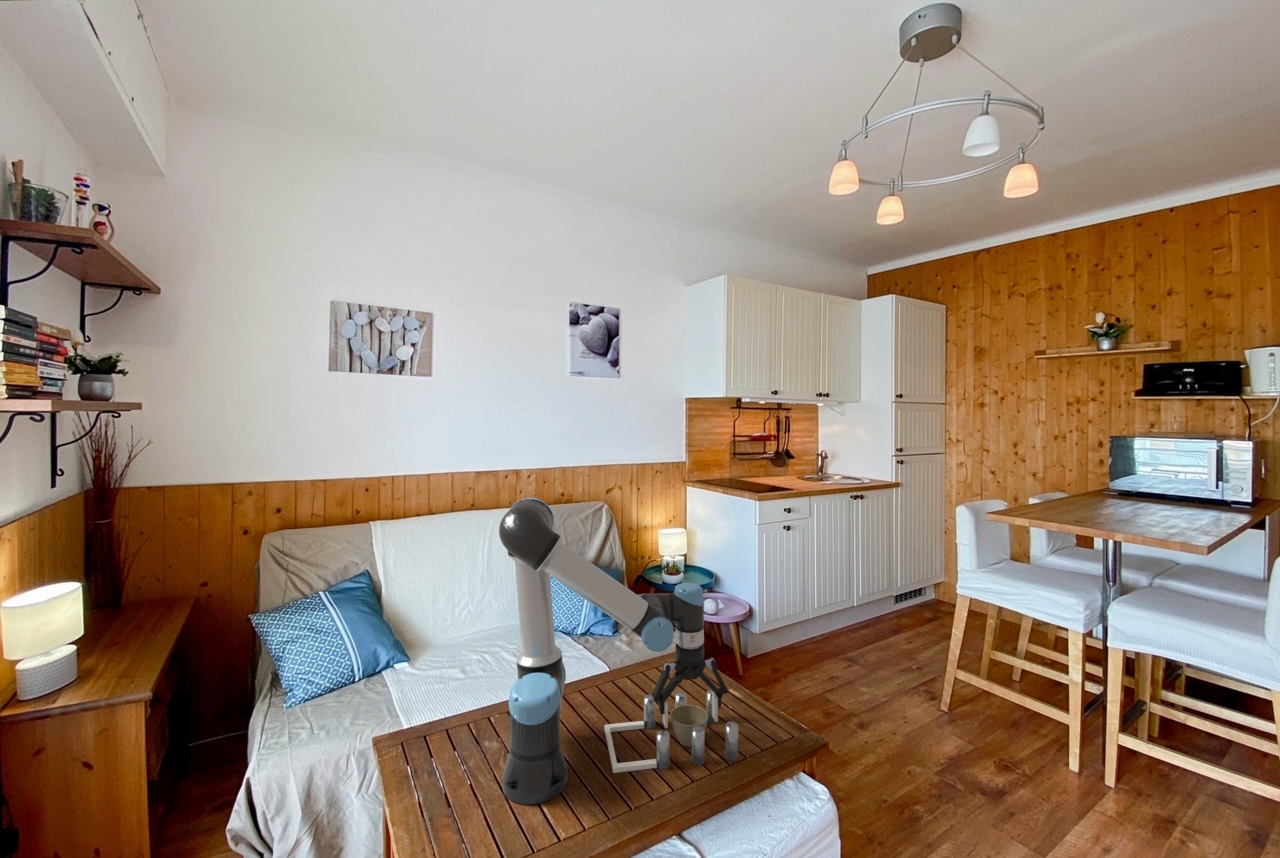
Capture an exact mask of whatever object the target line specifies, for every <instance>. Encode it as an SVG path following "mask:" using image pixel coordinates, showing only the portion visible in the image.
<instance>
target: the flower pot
mask: <svg viewBox="0 0 1280 858" xmlns="http://www.w3.org/2000/svg"><path fill="white" fill-rule="evenodd" d="M669 717H670V723H671V727H672V729H673V732H674V734H675V736H676V738H677V740H678V741H679V743H680V744H681V745H682V746H685V747H688V748H689V747H691V748H692V728H693V727H696V726H699V727H702V728H704V730H705V731H706V729H707V726H708V714H707V710H705V709H704V708H702V707H700V706H697V705H693V704H687V705H681V706H678V707H674V708H673V709H671V711H670V716H669Z"/></svg>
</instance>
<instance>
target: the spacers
mask: <svg viewBox="0 0 1280 858" xmlns="http://www.w3.org/2000/svg"><path fill="white" fill-rule="evenodd" d="M712 693H714V692H713V691H712V689H709V690H707V691H706V712H707V714H708V722H707V724H708V723H709V724H712V725H713V724H716V723H718V722H715V721H714V719H713V717H712ZM687 695H688V694H687V693H686V692H684V691H677V692H676V693H675V694H674V696H675V697H674V698H675V699H674V705H675V707H678V706H681V705H688V704H687V703H688V702H687V701H688V698H687V697H688V696H687ZM675 707H674V708H675ZM643 722H644V729H646V730H652V729H655V728H656V702H655V701H654V700H653V697H652V694H645V695H644V696H643ZM705 733H706V729H705V730H704V728H702V727H699V726H696V727H693V728H692V747H691V763H692V764H693V765H695V766H703V765H704V764H705V755H706V754H705V747H706V746H705V745H706V744H705V742H706V741H705V736H706V734H705ZM724 733H725V736H724V737H725V740H724V742H725V749H724V750H725V751H724V753H725V754H724V756H725V758H726V759H727V760H729V761H735V760H737V759H738V758H739V724H738V723H737V722H735V721H728V722H726V723H725V732H724ZM670 743H671V742H670V732H669V731H668V730H665V729H661V730H658V731H657V732H656V758H655V759H656V762H657V768H656V769H659V770H661V771H664V770H667V769H669V768H670V751H671V750H670Z"/></svg>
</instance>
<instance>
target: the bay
mask: <svg viewBox="0 0 1280 858" xmlns="http://www.w3.org/2000/svg"><path fill="white" fill-rule="evenodd" d="M642 729H645V727H644V720H641V721H629V722H628V721H627V722H619V723H610V724H608V723H607V724H604V733H605V738H606V739H605V740H606V743H607V744H606V745H607V748H608V753H609V759H610V764H611V769H612V773H613V774H616V773H623V772H624V773H625V772H633V771H640V770H641V771H643V770H649V769H658V768H657V762H656V759H657V758H652V759H644V760H643V759H642V760H633V761H627V762H618V760H617V757H616V752H615V747H614V744H613V737H612V733H613V732H614V733H615V732H623V731H633V730H642Z"/></svg>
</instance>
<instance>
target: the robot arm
mask: <svg viewBox="0 0 1280 858" xmlns="http://www.w3.org/2000/svg"><path fill="white" fill-rule="evenodd" d="M554 518H555V517H554V514H553V511H552V509H551V507H550V506H549V504H547V503H546V502H545V501H543V500H541V499H539V498H536V497H535V498H534V497H528V498H522V499H521V500H518V501H516V502H515V503H513V504H512V505H511V507H510V508H509V510H508V511H507V512H506V513H505V514H504V516H503V517H502V518H501V520H500V523H499V526H498V527H499V529H498V534H499V538H500V539H499V540H500V541H501V543H502V545H503V547H504V548H505V549H506V550H507V555H508V556H507V557H509V558H511V559H512V560H513V561H514V567H515V580H516V581H515V582H516V593H517V606H518V621H519V631H520V643H521V651H520V652H519V654H518V655H517V657H516V670H517V671H516V672H517V680H516V681H515V682H514V684H513V685H512V686H511V688H510V692H509V697H508V710H509V754H508V756H507V759H506V762H505V763H506V764H505V766H504V769H503V772H502V775H501V776H502V777H501V778H502V780H501V781H502V782H501V783H502V785H501V787H502V789H501V790H502V792H503V794H504V796H505V798H506V799H507V798H508V799H509V800H510V801H512V802H514V803H517V804H519V805H538V804H542V803H545V802H548V801H550V800H552V799H554V798H556V797H557V796H558V795H560V794H561V793H562V791H564V789H565V788H566V787H567V784H568V766H567V763H566V760H565V757H564V754H563V750H562V748H561V709H562V701H563V697H564V696H563V693H564V687H565V684H566V679H567V677H566V674H567V673H566V672H567V671H566V668H565V664H564V662H563V653H562V649H561V648H560V647H558V646H557V645H556V636H555V625H554V623H555V622H554V613H553V611H554V610H553V599H552V596H553V595H552V588H551V587H552V586H551V577H552V578H554V579H555V580H557V581H558V582H559V583H561V584H562V585H564V586H565V587H567V588H569V590H570V591H573V592H574V593H576V594H577V595H579V596H580V597H582V598H583V599H584V600H586V601H587V602H589V603H590V604H592V606H594V607H596V608H598V609H599V610H600V611H602V612H603V613H605V614H606V615H608V616H609V617H610V618H612V619H613V620H615V621H616V622H618V623H619V624H621V625H622V626H623V627H625V628H626V629H628V630H629V631H631V632H632V633H634V634H635V635H636V636H638V637H640V638H641V642H642V644H644V646H645V647H646V648H647V649H648V650H649V651H652V652H655V653H659V652H660V653H661V652H663V651H666V650H667V649H669V648H670V647H671V646H672V643H673V642H674V637H675V661H674V663H673V662H672V663H669V662H668V661H664V662H663V669H662V671H661V674H660V675H659V678H658V680H657V682H656V685H655V687H654V689H653V692H652V693H651V695H652V697H653V700H654V701H655V703H656V702H658V711H659V713H660V715H662V723H663V726H664V729H668V728H669V704H668V703H669V702H668V701H667V700H668V699H669V697H670V696H671V694H672V693H673V692H674V691H675V689H676V688H677V687H678V685H679V684H681V683H682V682H683V680H684V681H689V680H697V679H698V678H700V679H701V680H702V681H703V682H704V683H705V684H706V685H707V686H708V687H709V688H710V690H712V691H713V692H714V693H712V717H713V719H714V721H715V722H717V723H718V722H719V709H721V707H722V699H723V695H724V694H725V695H726V694H727V695H728V693H729V690H728V688H727V686H726V683H725V682H724V680H723V678H722V677H721V675H720V673H719V670H718V669H717V662H716V659H714V657H712V656H710V657H709V658H708V659H706V660H705V646H704V645H705V644H704V643H705V632H704V631H705V630H704V627H705V625H704V623H705V621H704V620H705V619H704V618H705V617H704V616H705V608H704V607H705V603H704V589H703V588H702V586H701V585H699V584H698V583H695V582H694V583H693V582H682V583H678V584H677V585H675V587H674V590H673V591H674V592H668V593H665V592H664V593H641V594H640V593H639V594H638V593H637V594H636V593H635V592H634V591H632V590H631V589H630V588H628V587H627V586H625V585H624V584H622V583H621V582H619V581H618V580H616V579H615V578H614V577H613V576H611V575H610V574H608V573H607V572H605V571H603V570H602V569H600V568H599V567H598V566H596V564H593V563H592V562H590V561H589V560H588V559H586V558H585V557H584V556H582V555H581V554H579V553H578V552H576V551H574V549H572V548H571V547H569V546H568V545H566V544H565V543H564V542H563V538H562V536H561V535H560V534H558V533H557V532H555V531H554V530H553V527H554V521H555V519H554ZM673 624H675V625H674V626H675V631H674V626H673ZM674 632H675V634H674ZM706 667H708V669H710V670H711V672H712V674H713V676H714V677H715V679H716V681H717V684H718V685H719V687H717V686H716V684H715V683H714V682H713V681H712V680H711V678H709V677H708V676H707V675H706V673H704V670H705V668H706ZM673 670H675V672H674V673H673V676H672V678H671V679H670V680H669V681H668V679H669V677H670V674H671V673H672V672H673ZM667 682H668V683H667Z"/></svg>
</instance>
